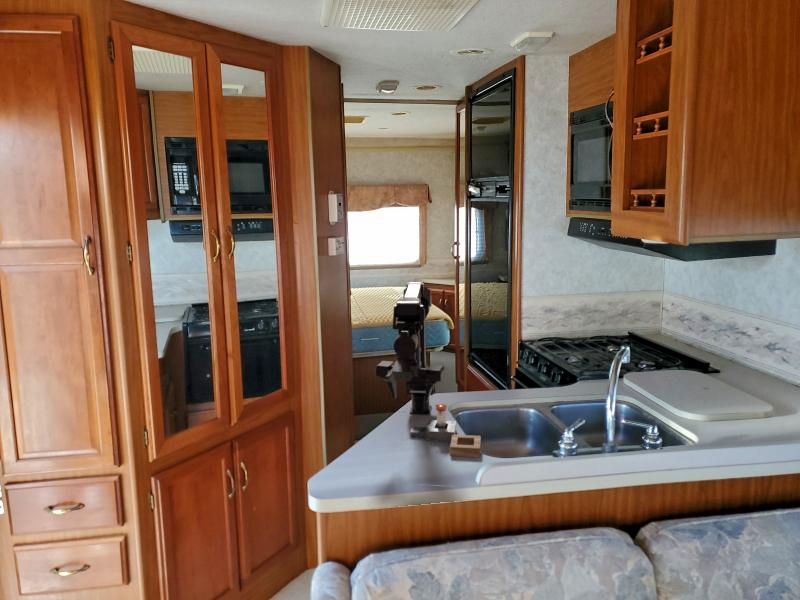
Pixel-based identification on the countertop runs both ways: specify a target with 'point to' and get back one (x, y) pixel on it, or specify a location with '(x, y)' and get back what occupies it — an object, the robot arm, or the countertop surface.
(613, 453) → the countertop surface
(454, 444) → the frame
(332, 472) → the countertop surface
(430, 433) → the block
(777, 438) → the countertop surface
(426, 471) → the countertop surface
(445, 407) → the hitch pin
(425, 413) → the robot arm
